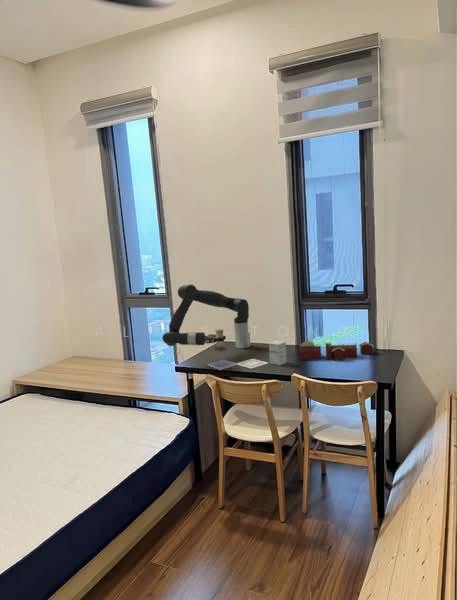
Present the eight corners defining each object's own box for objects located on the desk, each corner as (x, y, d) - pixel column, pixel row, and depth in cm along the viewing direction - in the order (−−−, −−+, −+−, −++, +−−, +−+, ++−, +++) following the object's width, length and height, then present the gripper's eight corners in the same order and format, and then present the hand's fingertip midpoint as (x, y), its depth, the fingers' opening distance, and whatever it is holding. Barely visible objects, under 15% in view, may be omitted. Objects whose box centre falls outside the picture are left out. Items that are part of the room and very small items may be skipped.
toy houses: (298, 361, 266) (297, 345, 265) (298, 352, 286) (298, 336, 285) (377, 360, 259) (377, 343, 258) (372, 351, 279) (372, 335, 278)
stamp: (221, 348, 269) (220, 328, 267) (226, 349, 265) (225, 329, 263) (214, 350, 266) (213, 329, 264) (219, 351, 262) (218, 331, 260)
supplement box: (269, 363, 265) (268, 342, 263) (277, 360, 270) (276, 340, 269) (279, 365, 260) (278, 344, 258) (287, 362, 265) (286, 341, 263)
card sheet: (252, 359, 277) (252, 358, 277) (268, 363, 266) (268, 362, 266) (235, 364, 268) (235, 363, 268) (251, 368, 257) (250, 368, 257)
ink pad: (223, 361, 275) (223, 359, 275) (236, 365, 266) (235, 362, 266) (207, 366, 268) (207, 363, 268) (220, 370, 258) (220, 367, 258)
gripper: (192, 335, 260) (221, 335, 256) (199, 330, 274) (226, 329, 270) (193, 348, 261) (222, 347, 257) (199, 342, 275) (227, 341, 271)
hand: (224, 338), depth 264 cm, fingers closed on stamp, 4 cm apart
